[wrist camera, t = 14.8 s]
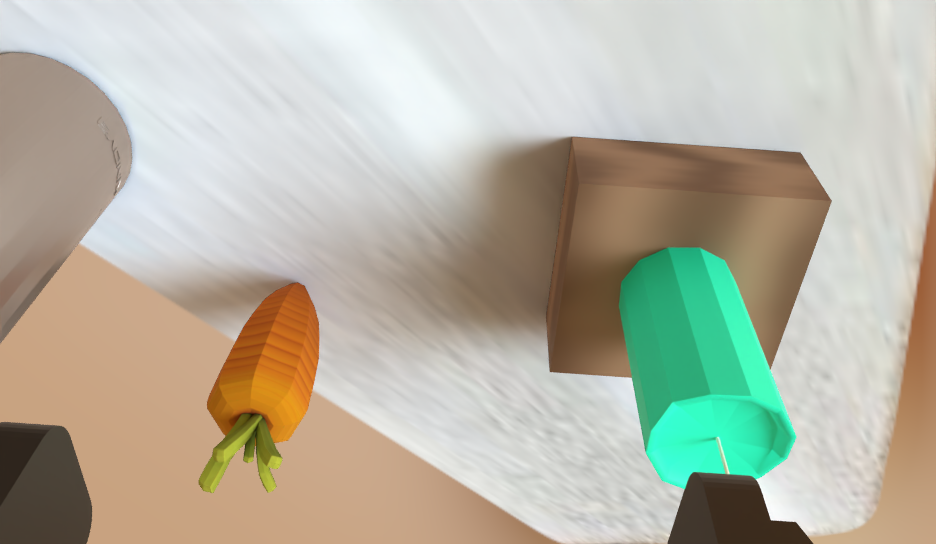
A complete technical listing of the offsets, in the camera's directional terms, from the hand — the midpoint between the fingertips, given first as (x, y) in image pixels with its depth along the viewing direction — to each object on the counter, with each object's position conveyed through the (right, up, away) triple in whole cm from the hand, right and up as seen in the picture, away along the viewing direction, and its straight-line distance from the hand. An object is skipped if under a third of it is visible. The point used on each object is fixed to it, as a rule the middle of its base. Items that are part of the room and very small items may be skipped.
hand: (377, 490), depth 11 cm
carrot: (-9, +2, +38) cm, 40 cm away
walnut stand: (+12, +5, +35) cm, 38 cm away
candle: (+12, +2, +32) cm, 34 cm away
